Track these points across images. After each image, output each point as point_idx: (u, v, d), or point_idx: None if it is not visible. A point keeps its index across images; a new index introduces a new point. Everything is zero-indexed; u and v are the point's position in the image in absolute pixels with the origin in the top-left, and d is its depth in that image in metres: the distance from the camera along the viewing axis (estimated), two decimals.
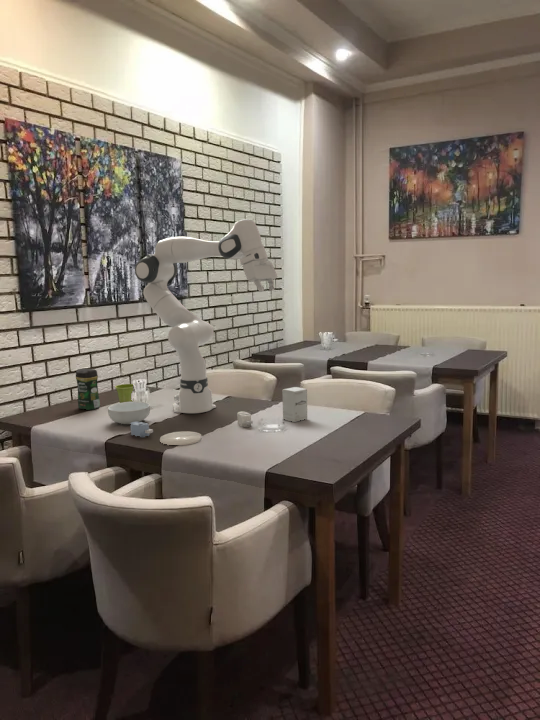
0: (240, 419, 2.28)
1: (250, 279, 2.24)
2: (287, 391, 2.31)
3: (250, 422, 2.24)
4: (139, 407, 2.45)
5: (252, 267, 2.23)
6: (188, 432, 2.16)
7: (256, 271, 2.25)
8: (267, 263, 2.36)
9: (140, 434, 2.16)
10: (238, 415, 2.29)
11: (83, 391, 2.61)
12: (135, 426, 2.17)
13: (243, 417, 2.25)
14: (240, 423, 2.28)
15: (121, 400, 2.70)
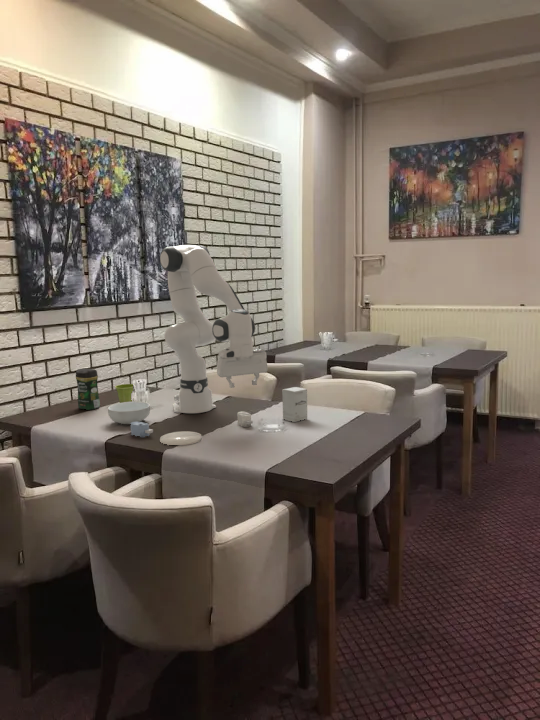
0: (240, 419, 2.28)
1: (218, 375, 2.23)
2: (287, 391, 2.31)
3: (250, 422, 2.24)
4: (139, 407, 2.45)
5: (220, 365, 2.20)
6: (188, 432, 2.16)
7: (226, 369, 2.21)
8: (255, 358, 2.26)
9: (140, 434, 2.16)
10: (238, 415, 2.29)
11: (83, 391, 2.61)
12: (135, 426, 2.17)
13: (243, 417, 2.25)
14: (240, 423, 2.28)
15: (121, 400, 2.70)
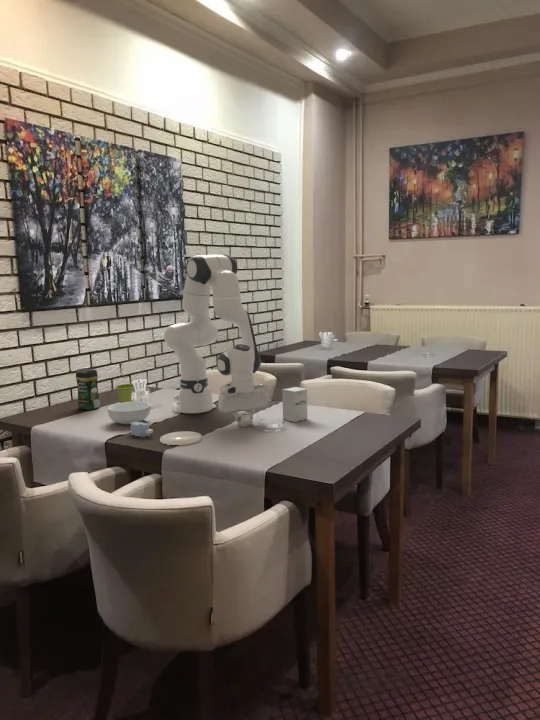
0: (240, 419, 2.28)
1: None
2: (287, 391, 2.31)
3: (250, 422, 2.24)
4: (139, 407, 2.45)
5: (221, 401, 2.22)
6: (188, 432, 2.16)
7: (227, 404, 2.24)
8: (256, 393, 2.28)
9: (140, 434, 2.16)
10: (238, 415, 2.29)
11: (83, 391, 2.61)
12: (135, 426, 2.17)
13: (243, 417, 2.25)
14: (240, 423, 2.28)
15: (121, 400, 2.70)
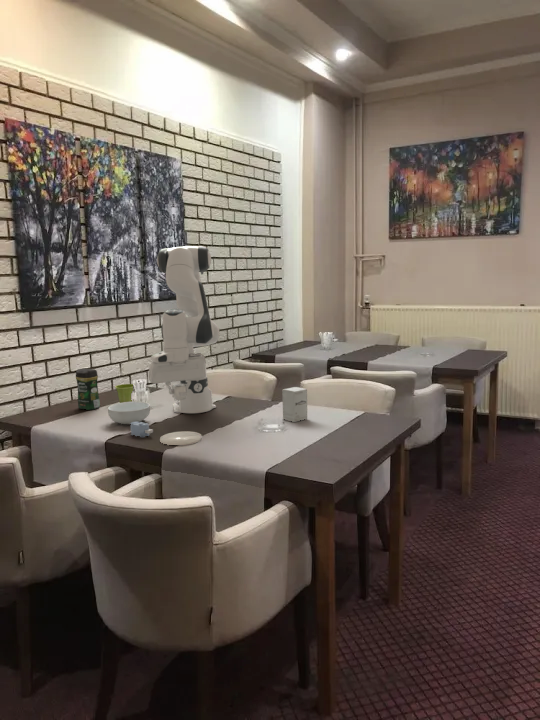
0: (174, 391, 2.07)
1: (150, 381, 2.04)
2: (287, 391, 2.31)
3: (184, 394, 2.03)
4: (139, 407, 2.45)
5: (151, 371, 2.02)
6: (188, 432, 2.16)
7: (158, 375, 2.03)
8: (191, 363, 2.07)
9: (140, 434, 2.16)
10: (172, 387, 2.09)
11: (83, 391, 2.61)
12: (135, 426, 2.17)
13: (176, 389, 2.05)
14: (174, 396, 2.07)
15: (121, 400, 2.70)
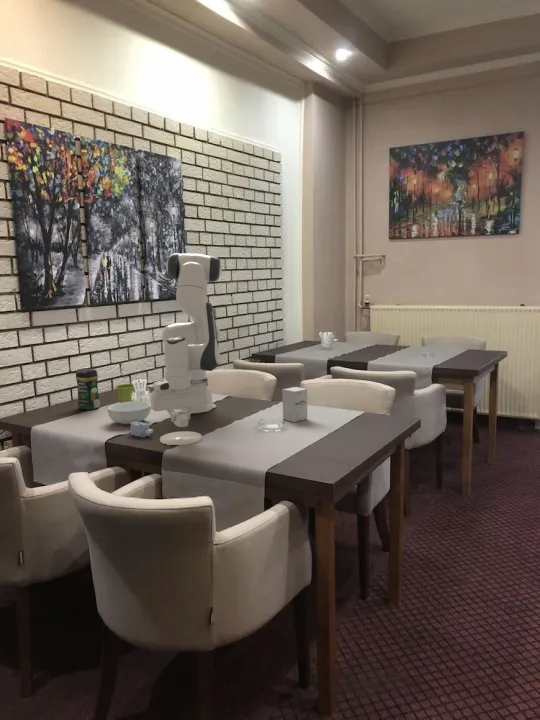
0: (176, 418, 2.08)
1: (152, 408, 2.06)
2: (287, 391, 2.31)
3: (186, 421, 2.04)
4: (139, 407, 2.45)
5: (153, 399, 2.03)
6: (188, 432, 2.16)
7: (160, 402, 2.04)
8: (193, 390, 2.09)
9: (140, 434, 2.16)
10: (174, 414, 2.10)
11: (83, 391, 2.61)
12: (135, 426, 2.17)
13: (178, 416, 2.06)
14: (176, 423, 2.08)
15: (121, 400, 2.70)
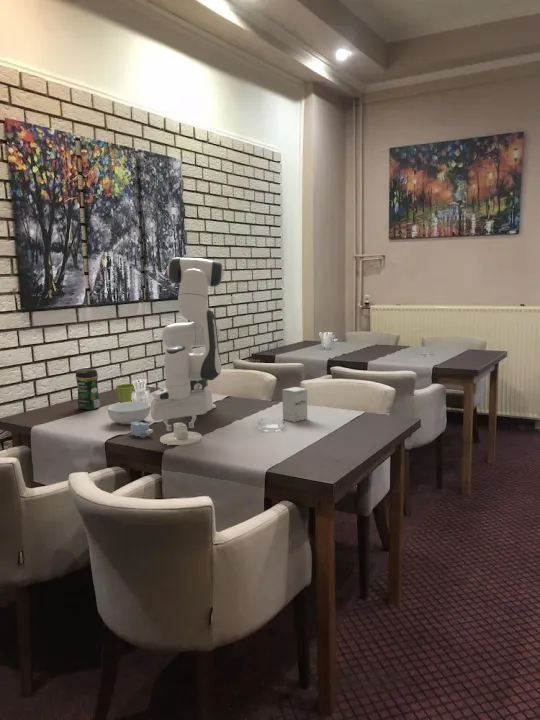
0: (176, 431, 2.09)
1: (152, 417, 2.06)
2: (287, 391, 2.31)
3: (185, 435, 2.05)
4: (139, 407, 2.45)
5: (153, 408, 2.04)
6: (188, 432, 2.16)
7: (160, 412, 2.05)
8: (193, 399, 2.09)
9: (140, 434, 2.16)
10: (174, 427, 2.11)
11: (83, 391, 2.61)
12: (135, 426, 2.17)
13: (178, 429, 2.07)
14: (176, 435, 2.10)
15: (121, 400, 2.70)
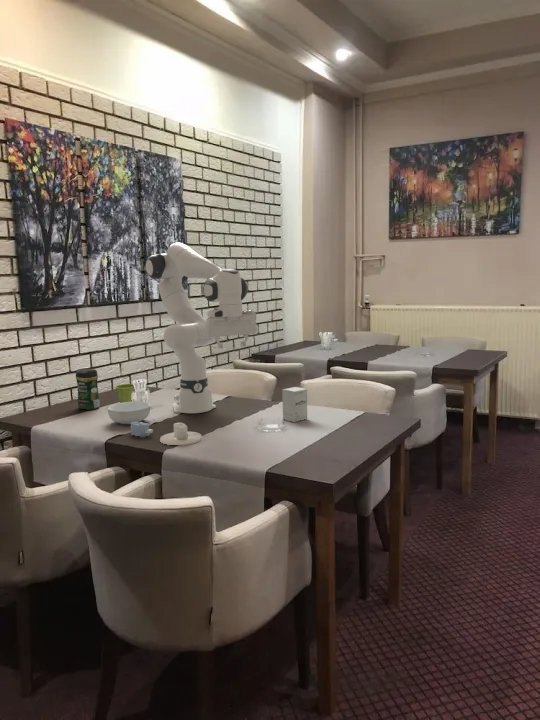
0: (176, 431, 2.09)
1: (206, 335, 2.20)
2: (287, 391, 2.31)
3: (185, 435, 2.05)
4: (139, 407, 2.45)
5: (208, 325, 2.18)
6: (188, 432, 2.16)
7: (214, 329, 2.19)
8: (244, 319, 2.23)
9: (140, 434, 2.16)
10: (174, 427, 2.11)
11: (83, 391, 2.61)
12: (135, 426, 2.17)
13: (178, 429, 2.07)
14: (176, 435, 2.10)
15: (121, 400, 2.70)
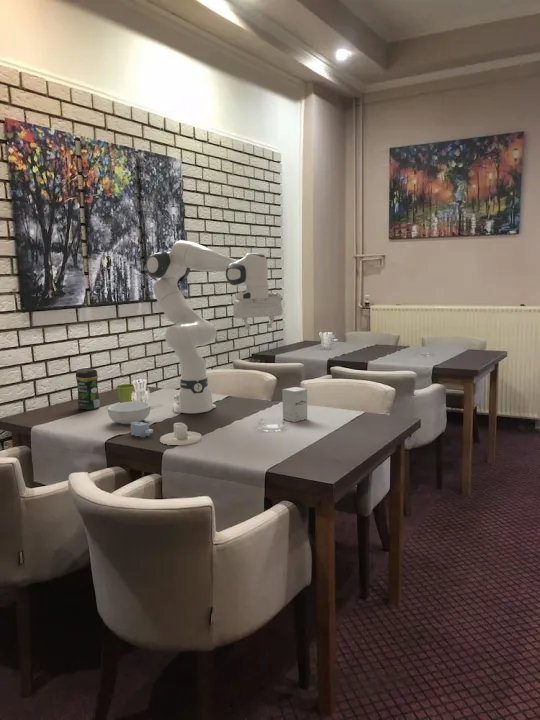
0: (176, 431, 2.09)
1: (234, 316, 2.29)
2: (287, 391, 2.31)
3: (185, 435, 2.05)
4: (139, 407, 2.45)
5: (237, 306, 2.26)
6: (188, 432, 2.16)
7: (242, 310, 2.28)
8: (270, 301, 2.32)
9: (140, 434, 2.16)
10: (174, 427, 2.11)
11: (83, 391, 2.61)
12: (135, 426, 2.17)
13: (178, 429, 2.07)
14: (176, 435, 2.10)
15: (121, 400, 2.70)
